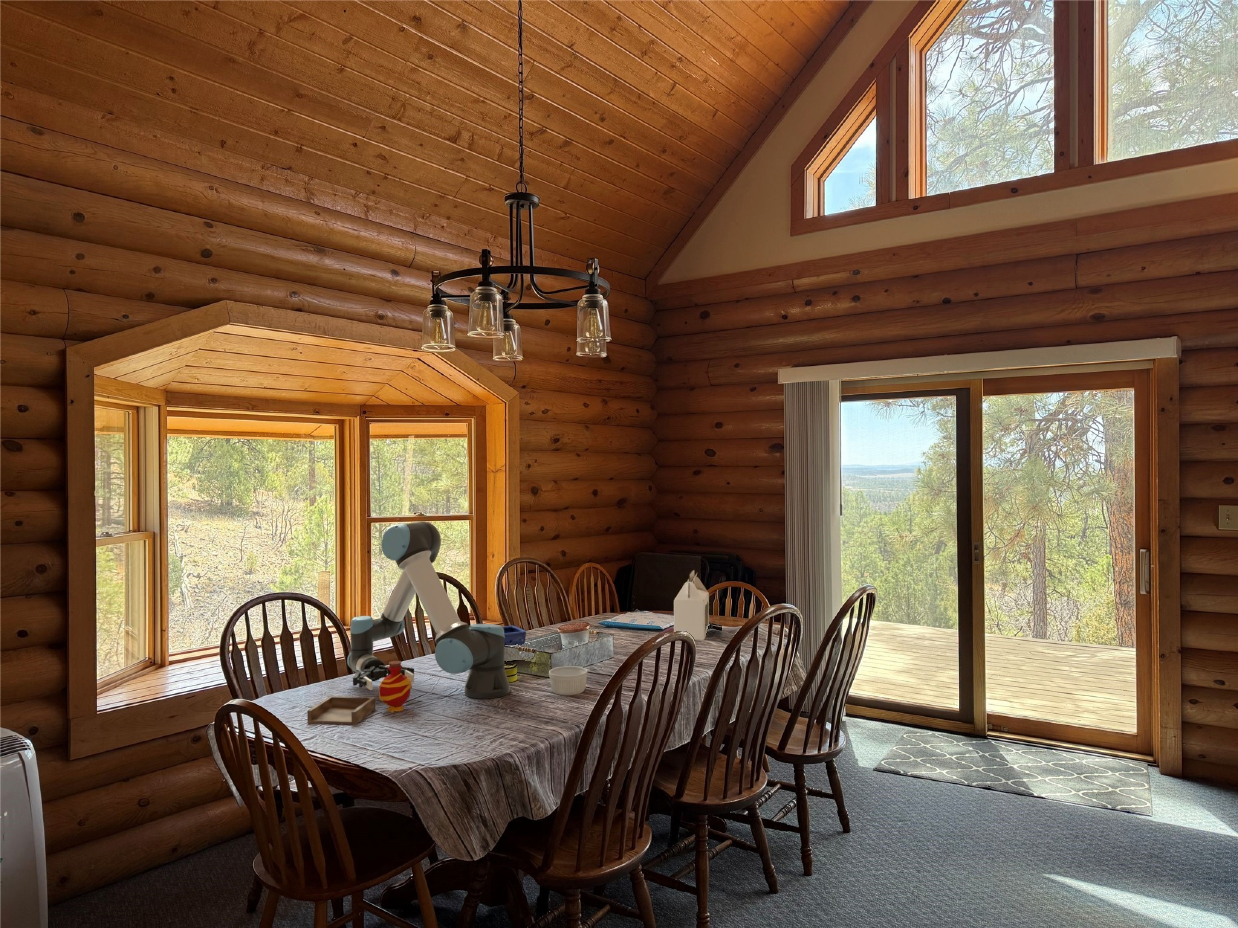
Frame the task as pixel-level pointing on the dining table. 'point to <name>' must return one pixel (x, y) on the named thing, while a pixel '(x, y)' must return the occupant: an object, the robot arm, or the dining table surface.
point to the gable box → (692, 608)
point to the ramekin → (568, 680)
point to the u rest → (341, 710)
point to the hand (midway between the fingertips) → (392, 682)
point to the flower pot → (514, 635)
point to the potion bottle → (395, 688)
